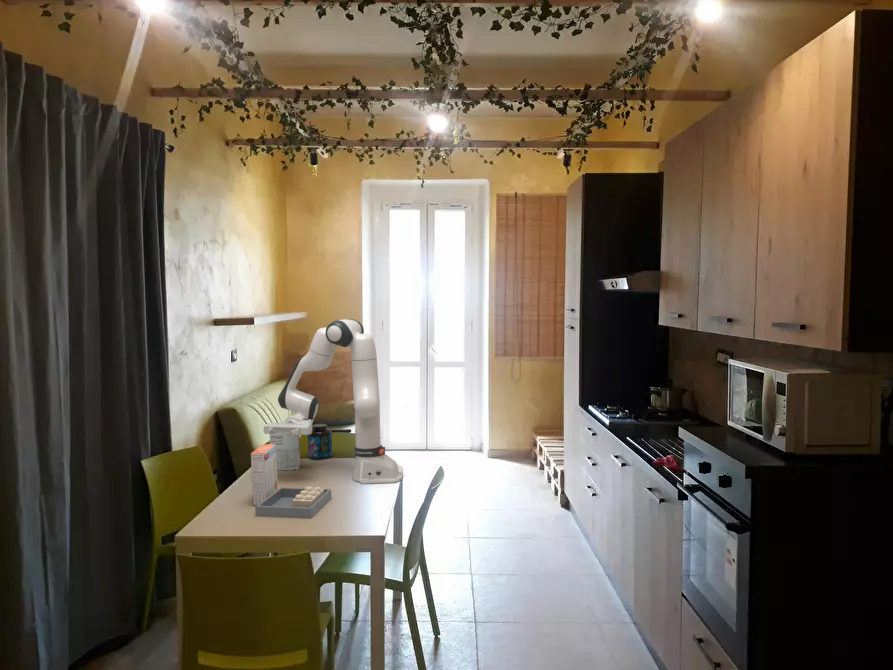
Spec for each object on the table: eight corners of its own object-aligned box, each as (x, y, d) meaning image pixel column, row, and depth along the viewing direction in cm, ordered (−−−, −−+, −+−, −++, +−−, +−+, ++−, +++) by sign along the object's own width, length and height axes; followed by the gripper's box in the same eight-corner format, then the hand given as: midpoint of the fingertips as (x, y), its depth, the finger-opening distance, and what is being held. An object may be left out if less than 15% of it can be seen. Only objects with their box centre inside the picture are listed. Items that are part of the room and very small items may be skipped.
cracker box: (264, 494, 243) (262, 443, 241) (278, 494, 242) (277, 443, 241) (251, 506, 229) (249, 452, 227) (267, 506, 228) (265, 452, 227)
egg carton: (324, 501, 230) (323, 485, 230) (311, 514, 216) (310, 497, 216) (307, 500, 231) (306, 485, 231) (292, 513, 217) (292, 497, 217)
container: (303, 457, 299) (302, 426, 298) (321, 452, 308) (320, 422, 307) (319, 461, 292) (318, 428, 291) (337, 456, 301) (336, 424, 300)
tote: (331, 500, 234) (331, 489, 233) (311, 521, 212) (310, 508, 212) (280, 498, 237) (280, 487, 236) (255, 518, 215) (255, 506, 215)
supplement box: (299, 469, 278) (298, 431, 277) (270, 471, 275) (269, 433, 274) (300, 460, 294) (299, 424, 293) (272, 462, 292) (271, 425, 291)
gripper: (271, 418, 265) (256, 424, 251) (314, 419, 262) (303, 426, 248) (271, 432, 265) (257, 439, 252) (315, 433, 262) (303, 441, 249)
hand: (280, 432), depth 250 cm, fingers open, 8 cm apart
